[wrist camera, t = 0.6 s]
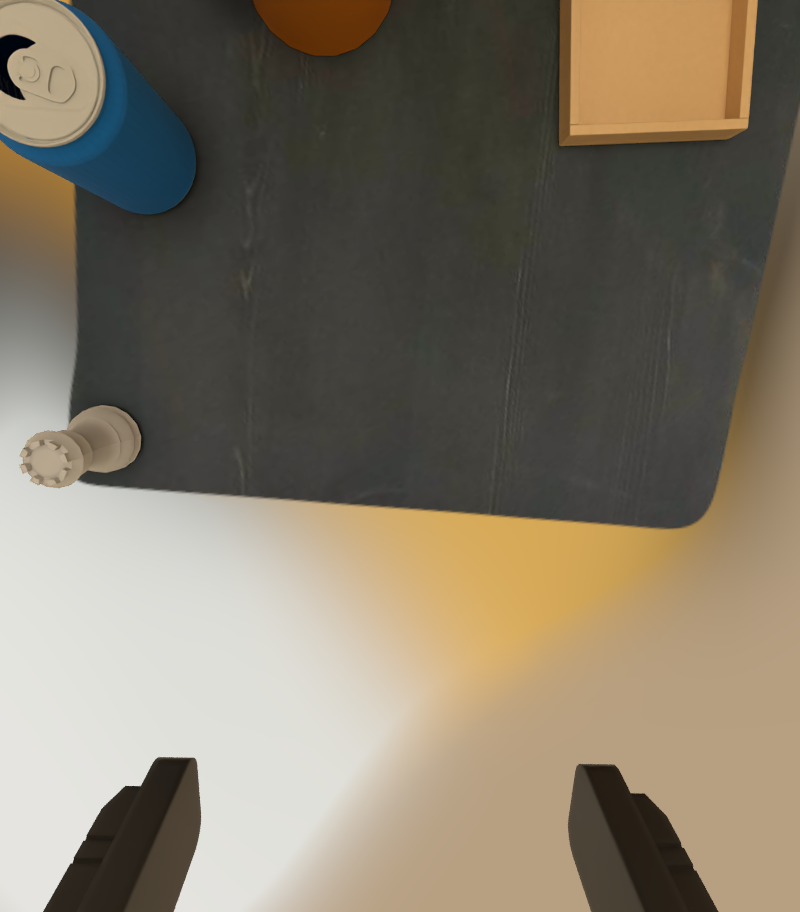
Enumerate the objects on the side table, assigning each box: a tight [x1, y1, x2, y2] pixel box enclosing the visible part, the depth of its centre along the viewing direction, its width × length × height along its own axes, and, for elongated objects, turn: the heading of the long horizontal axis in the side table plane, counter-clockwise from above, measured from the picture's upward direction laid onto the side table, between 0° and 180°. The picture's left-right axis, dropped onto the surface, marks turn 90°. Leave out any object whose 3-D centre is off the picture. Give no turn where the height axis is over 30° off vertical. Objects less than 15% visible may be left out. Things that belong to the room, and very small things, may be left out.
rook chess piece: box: [19, 405, 141, 488], centre depth 34 cm, size 4×4×8 cm
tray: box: [559, 0, 758, 146], centre depth 33 cm, size 13×11×2 cm
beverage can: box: [0, 0, 196, 214], centre depth 28 cm, size 6×6×12 cm
